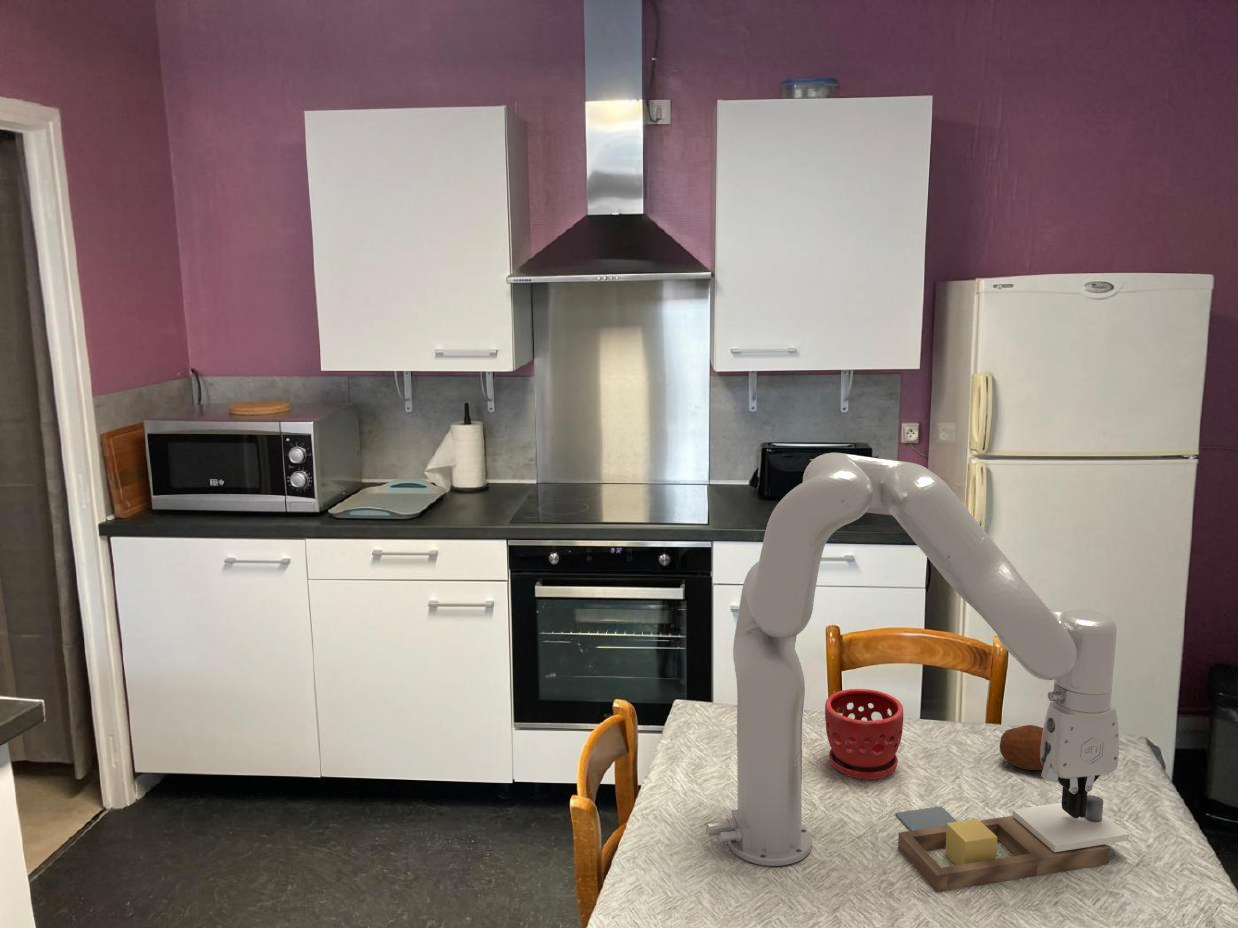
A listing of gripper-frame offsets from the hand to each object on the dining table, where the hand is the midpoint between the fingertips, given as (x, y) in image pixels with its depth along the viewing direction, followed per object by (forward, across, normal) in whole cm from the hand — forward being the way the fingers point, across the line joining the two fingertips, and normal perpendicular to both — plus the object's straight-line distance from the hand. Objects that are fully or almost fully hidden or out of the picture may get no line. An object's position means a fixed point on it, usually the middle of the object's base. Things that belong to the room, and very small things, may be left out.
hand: (1073, 812), depth 143 cm
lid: (+2, -1, 0) cm, 2 cm away
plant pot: (+6, -19, +29) cm, 36 cm away
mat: (+5, -17, +10) cm, 20 cm away
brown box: (+5, -12, 0) cm, 13 cm away
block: (+5, -17, 0) cm, 17 cm away
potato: (+5, +9, +22) cm, 25 cm away
